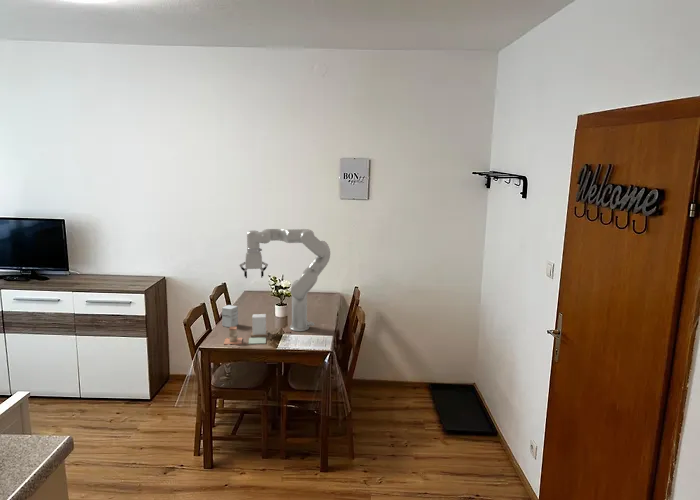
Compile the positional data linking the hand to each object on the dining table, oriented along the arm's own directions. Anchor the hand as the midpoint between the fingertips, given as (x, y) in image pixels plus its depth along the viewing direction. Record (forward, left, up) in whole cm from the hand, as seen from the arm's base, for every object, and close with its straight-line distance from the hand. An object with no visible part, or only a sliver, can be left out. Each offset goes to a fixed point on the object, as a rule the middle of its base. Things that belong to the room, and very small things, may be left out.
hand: (254, 277), depth 314 cm
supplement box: (+16, -7, -34) cm, 38 cm away
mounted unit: (-3, +12, -33) cm, 36 cm away
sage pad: (-2, +23, -33) cm, 41 cm away
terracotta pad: (+12, +22, -33) cm, 42 cm away
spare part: (+12, +22, -33) cm, 41 cm away
